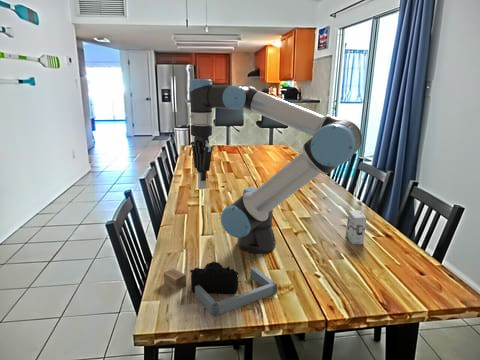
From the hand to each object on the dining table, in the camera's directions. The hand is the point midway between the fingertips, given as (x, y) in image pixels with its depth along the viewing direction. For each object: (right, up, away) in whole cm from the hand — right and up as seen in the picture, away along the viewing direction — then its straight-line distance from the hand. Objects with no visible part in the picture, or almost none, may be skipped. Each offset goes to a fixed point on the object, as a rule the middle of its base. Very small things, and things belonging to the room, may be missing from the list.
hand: (201, 188), depth 131 cm
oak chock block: (-7, -30, -18) cm, 36 cm away
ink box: (+62, -22, +17) cm, 68 cm away
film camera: (+6, -31, -18) cm, 36 cm away
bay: (+13, -32, -23) cm, 41 cm away
